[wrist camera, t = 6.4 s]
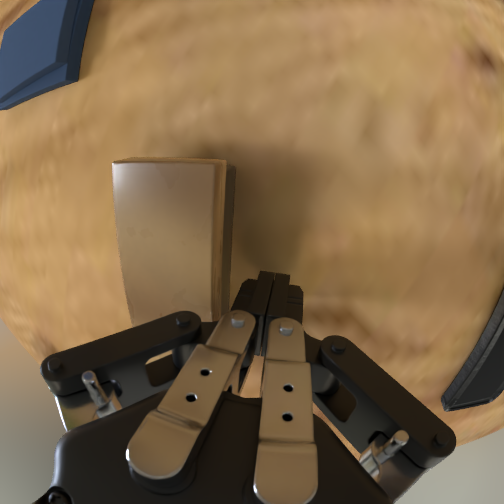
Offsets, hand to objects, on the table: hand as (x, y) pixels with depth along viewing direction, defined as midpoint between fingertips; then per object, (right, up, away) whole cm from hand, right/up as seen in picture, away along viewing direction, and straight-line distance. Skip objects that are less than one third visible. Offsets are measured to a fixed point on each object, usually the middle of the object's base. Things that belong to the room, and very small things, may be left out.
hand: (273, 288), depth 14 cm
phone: (+19, -5, 0) cm, 20 cm away
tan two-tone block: (-4, +1, +2) cm, 5 cm away
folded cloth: (-16, +17, -3) cm, 24 cm away
